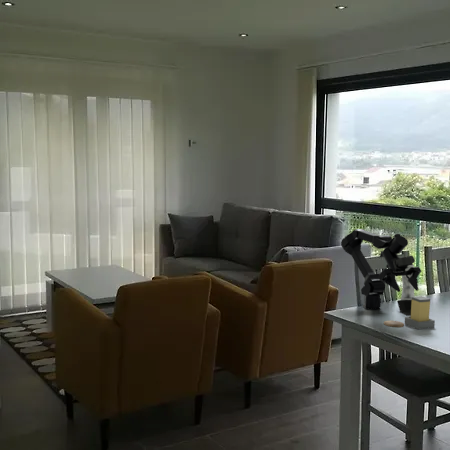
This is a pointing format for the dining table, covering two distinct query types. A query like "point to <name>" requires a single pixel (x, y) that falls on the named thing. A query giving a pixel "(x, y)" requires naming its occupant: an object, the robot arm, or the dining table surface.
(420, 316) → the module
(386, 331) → the dining table surface
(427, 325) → the case
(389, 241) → the robot arm
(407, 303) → the black wedge stand
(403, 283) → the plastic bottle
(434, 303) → the dining table surface
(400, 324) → the pad
